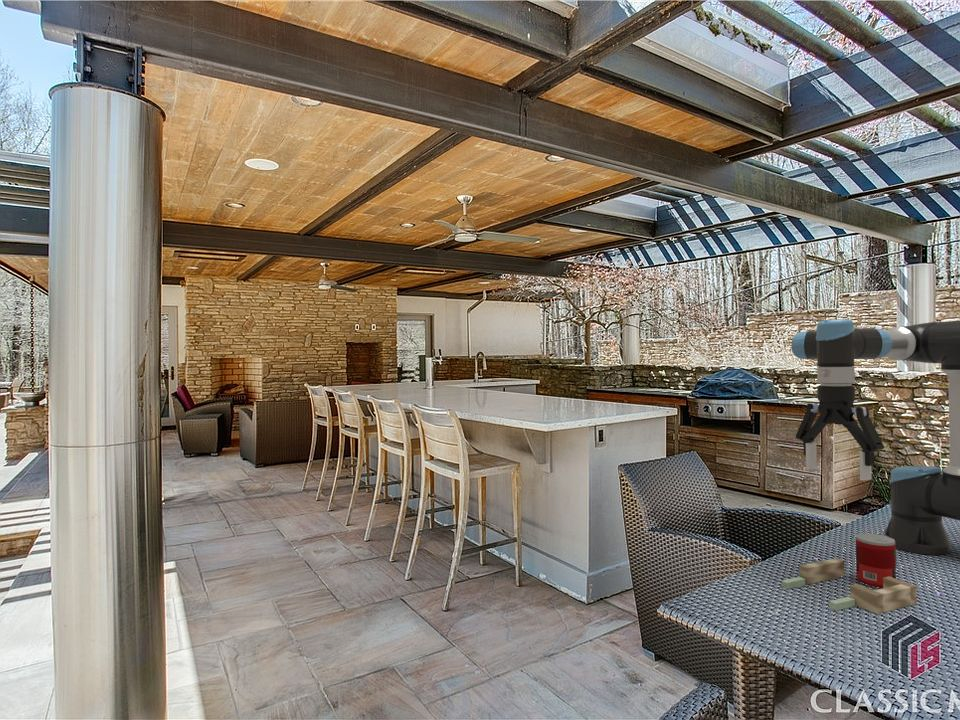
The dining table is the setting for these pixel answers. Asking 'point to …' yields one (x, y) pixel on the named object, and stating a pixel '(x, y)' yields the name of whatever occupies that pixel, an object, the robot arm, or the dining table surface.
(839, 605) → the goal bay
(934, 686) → the dining table surface
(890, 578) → the lane
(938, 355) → the robot arm
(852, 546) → the dining table surface
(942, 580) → the dining table surface
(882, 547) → the canned food
